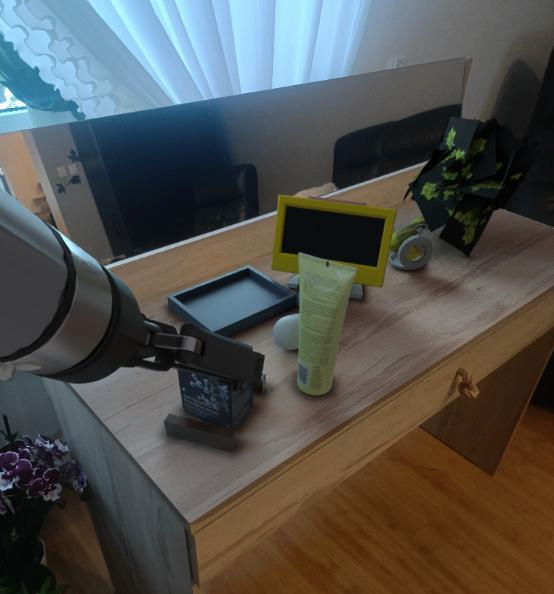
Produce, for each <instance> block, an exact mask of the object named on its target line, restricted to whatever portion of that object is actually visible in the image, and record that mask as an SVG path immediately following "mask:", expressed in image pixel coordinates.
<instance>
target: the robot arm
mask: <svg viewBox="0 0 554 594" xmlns="http://www.w3.org/2000/svg"><path fill="white" fill-rule="evenodd" d="M150 358H154V360H153V361H152V360H151V361H150V360H146V359H150ZM265 358H266V355H264V354H262V353H261V352H257V351H254V350H253V351H252V350H250V349H247V348H244V347H242V346H239V345H237V344H234V343H231V342H229V341H226V340H224V339H221V338H218V337H216V336H213V335H211V334H208V333H206V332H205V331H203V330H202V329H200V328H199V327H196V326H194V324H190V323H188V322H186V323H182V324H180V327H179V332H178V330H177V328H176V327H175V325H171V324H168V323H164V322H161V321H158V320H155V319H151V318H149V317H147V316H146V315H145V313H142V312H141V309H140V306H139V303H138V301H137V299H136V296H135V294H134V292H133V291H132V290H131V287H129V286H128V284H126V282H125V281H124V280H122V279H121V278H120V277H119V276H118V275H116V274H115V273H114V272H112V271H111V270H109V269H108V268H107V267H106V266H104V265H103V264H102V263H100V262H99V261H98V260H97V259H96V258H94V257H93V256H91V255H90V254H89V253H88V252H86V251H85V250H84V249H82V248H81V247H80V246H78V245H77V244H76V243H75V242H73V241H72V240H71V239H69V238H68V237H67V236H66V235H64V234H63V233H62V232H61V231H59V230H58V229H56V228H55V227H54V226H52V224H50V223H49V222H47V221H46V220H44V219H42V218H40V217H38V216H37V215H36V214H35V213H33V212H32V211H30V209H28V208H27V207H26V206H24V205H23V204H22V203H21V202H20V201H18V200H17V199H16V198H15V197H14V196H13V195H11V194H9V192H7V191H6V190H4V189H3V188H2V187H1V186H0V380H1V381H4V382H6V381H12V380H14V379H15V374H16V372H17V371H18V372H24V373H30V374H32V375H34V376H37V377H40V378H46V379H50V380H54V381H58V382H63V383H67V384H75V385H83V384H84V385H85V384H91V383H95V382H98V381H102V380H103V379H105V378H107V377H109V376H111V375H112V374H114V373H115V372H117V371H118V370H119V369H120V368H128V369H131V368H132V369H134V368H140V369H144V370H148V371H153V372H164V373H165V372H168V371H170V369H174V370H177V369H178V370H182V371H186V372H190V373H194V374H199V375H203V376H207V377H211V378H216V379H220V381H219V382H220V383H221V384H223V385H225V386H227V387H228V388H227V391H233V392H239V391H243V385H244V382H245V383H248V384H250V385H251V386H259V385H260V383H261V378H262V373H263V372H264V365H265Z"/></svg>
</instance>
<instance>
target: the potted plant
mask: <svg viewBox="0 0 554 594" xmlns="http://www.w3.org/2000/svg"><path fill="white" fill-rule="evenodd" d="M538 144H539V140H537V141H533V142H530V143H529V141H528V136H526V137H524V138H522V139H521V140H520V139H518V138H517V137H515V135H514V134H513V131H512V128H511V125H510V122H506V123H503V124H502V125H500V123H499V121H498V120H497V118H496V116H493V117H492V118H490V119H486V120H485V121H484V122H483V121H482V120H480V119H476V118H474V119H472V118H465V117H456V116H450V117H449V121H448V123H447V127H446V130H445V133H444V134H442V135H440V145H439V147H438V148H437V149H434V150H432V151H429V150H426V152H427V153H429V154H430V155H429V159H428V161H427V162H426V163H425V164H424V166H423V167H422V168H421V170H420V171H419V172H418V173H417V175H415V176H414V177H413V178H412V179H413V181H411V182H409V183H407V185H408V187H407V190H406V192H405V194H404V196H403V199H402V204H403V203H404V202H405V201H406V199H407V197H408V196H409V195H410V193H411V194H412V195H411V196H410V198H409V199H411V200H412V201H414V202H416V205H417V208H418V209H419V211H420V214H421V215H422V216H419V217H415V218H414V219H413V220H411V221H410V222H409V223H408V224H406V225H403V226H402V227H399V228H398V229H397V230H395V231H393V235H392V240H391V245H390V250H389V251H394V252H398V251H399V248H400V246H401V245H402V244H403V242H404V241H405V240H407V239H408V238H410V237H412V236H415V235H418V232H417V231H416V230H418V229H419V228H420V227H421V228H422V229H423V230H424V229H425V228H427V227H426V226H425V225H419V224H427V225H428V228H427V229H426V230H424V231H427V230H429V232H430V233H433V232H435V231H437V230H438V229H440V228H442V227H443V229H442V230H441V232H440V233H439V236H438V237H437V238H439V239H440V240H441V241H443V242H445V243H446V244H448V245H450V246H451V247H452V248H455V249H456V250H457V251H459V252H460V253H462V254H463V255H464V256H466V257H467V258H469V257H470V256H471V253H472V252H473V250H474V248H475V247H476V245H477V244H478V242H479V241H480V239H481V237H482V235H483V233H484V231H485V230H486V228H487V226H488V224H489V222H490V220H491V219H492V215H493V214H494V212H495V211H499V210H501V209H502V210H504V209H505V207H506V205H508V202H509V201H510V200H511V198H512V197H513V196H514V194H515V192H516V191H517V189H518V188H519V187H520V185H521V183H523V182H524V181H525V182H526V179H527V174H528V173H529V171H530V170H531V169H532V167H533V165H534V164H535V163H536V161H537V159H538V158H539V156H540V155H541V154H542V150H540V149H538V148H537V146H538ZM416 225H419V226H417V227H416V230H414V227H415V226H416Z"/></svg>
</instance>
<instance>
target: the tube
mask: <svg viewBox="0 0 554 594" xmlns="http://www.w3.org/2000/svg"><path fill="white" fill-rule="evenodd" d="M298 262H299V285H300V310H299V314H300V318H299V348H298V355H297V356H298V357H297V374H296V375H297V377H296V384H297V387H298V389H299V390H300V391H302V393H305V394H308V395H310V396H321V395H325V394H327V393H329V392H330V390H331V389H332V386H333V380H334V375H335V368H336V362H337V357H338V351H339V346H340V341H341V336H342V331H343V327H344V322H345V317H346V313H347V308H348V304H349V301H350V298H349V296H350V293H351V289H352V285H353V282H354V279H355V276H356V273H357V268H354V267H350V266H346V265H342V264H338V263H335V262H331V261H327V260H324V259H320V258H317V257H313V256H310V255H307V254H303V253H299V254H298Z"/></svg>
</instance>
